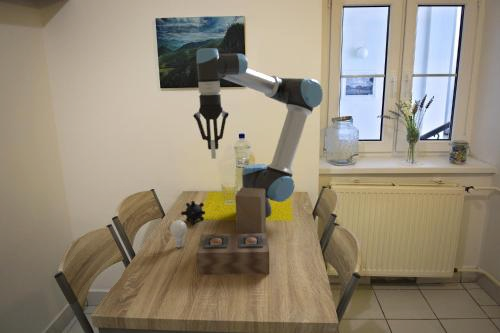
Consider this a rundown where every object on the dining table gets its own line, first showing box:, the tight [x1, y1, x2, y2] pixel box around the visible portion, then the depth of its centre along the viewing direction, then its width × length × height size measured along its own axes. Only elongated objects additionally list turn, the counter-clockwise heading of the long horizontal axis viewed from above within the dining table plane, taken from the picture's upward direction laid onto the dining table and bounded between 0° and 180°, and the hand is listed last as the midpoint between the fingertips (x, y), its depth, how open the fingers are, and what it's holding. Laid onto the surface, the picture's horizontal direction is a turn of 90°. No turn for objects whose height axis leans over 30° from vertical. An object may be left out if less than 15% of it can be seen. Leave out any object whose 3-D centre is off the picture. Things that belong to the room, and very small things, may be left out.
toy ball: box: [180, 200, 206, 226], centre depth 166 cm, size 11×11×12 cm
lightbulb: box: [169, 219, 188, 249], centre depth 142 cm, size 6×6×11 cm
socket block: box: [195, 232, 270, 276], centre depth 130 cm, size 24×14×9 cm, turn 90°
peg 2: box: [245, 237, 257, 244], centre depth 130 cm, size 4×4×8 cm
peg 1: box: [210, 238, 222, 245], centre depth 130 cm, size 4×4×8 cm
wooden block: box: [235, 187, 267, 234], centre depth 146 cm, size 10×10×20 cm
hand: (213, 157), depth 139 cm, fingers closed
